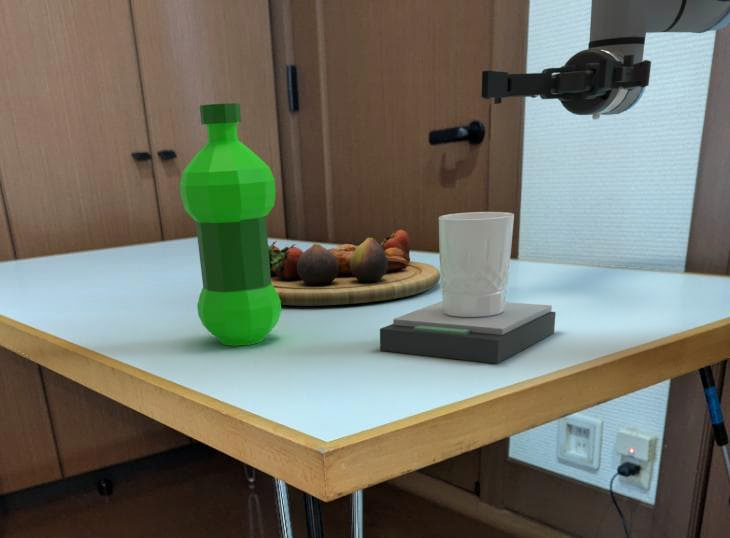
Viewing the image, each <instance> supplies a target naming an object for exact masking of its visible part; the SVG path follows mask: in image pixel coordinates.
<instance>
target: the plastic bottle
mask: <svg viewBox="0 0 730 538" xmlns="http://www.w3.org/2000/svg"><path fill="white" fill-rule="evenodd" d="M241 111H242V110H241V103H237V102H235V103H233V102H232V103H230V102H229V103H228V102H227V103H210V104H201V105H199V115H200V122H201V123H200V124H201V125H202V126H206V133H207V142H206V143H205V144H204V145H203V146H202V147H201V149H199V151H197V153H196V154H195V156H194V157H193V158H192V159H191V160H190V162H189V163H188V164H187V166H186V167H185V168H184V170H183V171H182V172H181V177H180V181H179V192H180V199H181V202H182V205H183V208H184V211H185V212H186V213H187V214H188V216H190V217H191V219H193V220H194V221H195V227H196V228H195V229H196V238H197V246H198V247H197V248H198V255H199V264H200V272H201V281H202V289H201V290H200V293H199V297H198V301H197V304H196V308H197V315H198V318H199V321H200V322H201V324H202V326H203V327H204V328H205V329H206V330H207V332H209V333H210V334H211V335H213V336H214V337H215V338H216V339H217V340H218V341H220V343H221V344H222V345H224V346H233V347H239V346H250V345H251V346H252V345H254V344H260V343H261V342H263V341H265V337H267V336H268V335H269V334H270V333H271V332H272V330H273V329H274V328H275V327H276V325H277V324H278V322H279V320H280V317H281V313H282V305H281V301H280V298H279V296H278V294H277V292H276V290H275V288H274V287H273V285H272V283H271V275H270V263H269V250H268V245H269V240H268V239H269V238H268V228H267V227H268V226H267V225H268V224H267V217H268V215H269V214H270V212H271V211H272V210H273V208H274V207H275V201H276V193H277V192H276V179H275V177H274V175H273V172H272V170H271V168H270V166H269V165H268V164H267V163H265V161H263V160H262V159H261V158H260V157H259V156H258V155H257V154H256V153H255V152H254V151H252V150H251V149H250V148H249V147H248V146H247V145H245V144H244V143H243V142H242V141H240V140H239V136H238V124H241V123H242V113H241Z"/></svg>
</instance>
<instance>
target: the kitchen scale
mask: <svg viewBox="0 0 730 538" xmlns="http://www.w3.org/2000/svg"><path fill="white" fill-rule="evenodd" d="M552 310H553V306H552V304H537V303H523V302H508V301H505V306H504V311H503V312H502V313H500V314H497V315H492V316H485V317H456V316H450V315H447V314H444V312H443V300H441V301H438V302H435V303H433V304H431V305H428V306H425V307H422V308H419V309H417V310H414V311H411V312H409V313H406V314H403V315H400V316H398V317H395V318H393V321H392V322H393V323H390V324H389V325H386V326H383V327H381V328H379V346H380V347H379V350H380V351H381V352H391V353H398V354H399V353H400V354H409V355H416V356H417V355H418V356H426V357H433V358H434V357H436V358H441V359H442V358H443V359H451V360H461V361H468V362H479V363H486V364H495V365H497V364H499V363H501V362H503V361H505V360H507V359H509V358H511V357H512V356H514V355H516V354H518V353H520V352H523V351H524V350H525V349H527V348H529V347H532V346H533V345H535V344H537V343H538V342H540V341H543V340H544V339H546V338H548V337H550V336H552V335H553V334H555V329H556V328H555V327H556V313H557V312H556V311H552Z"/></svg>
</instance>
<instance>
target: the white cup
mask: <svg viewBox="0 0 730 538" xmlns="http://www.w3.org/2000/svg"><path fill="white" fill-rule="evenodd" d="M514 221H515V214H514V213H513V212H504V211H474V212H473V211H472V212H459V213H449V214H444V215H440V216H438V245H439V249H438V252H439V265H440V268H439V269H440V270H439V273H440V288H441V290H442V291H441V293H442V294H441V297H442V298H441V299H442V300H441V301H443V312H444V314H447V315H450V316H456V317H485V316H492V315H497V314H500V313H502V312H503V311H504V306H505V302H506V293H507V289H506V288H507V285H508V282H509V271H510V265H511V254H512V242H513V232H514Z"/></svg>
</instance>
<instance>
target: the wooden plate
mask: <svg viewBox="0 0 730 538" xmlns="http://www.w3.org/2000/svg"><path fill="white" fill-rule="evenodd" d="M382 240H383V241H382V242H378V241H377V240H376V239H374V238H373V237H367V238H366V239H365V240H364V241H363V242H362V243H360V244H359V245H358V246H356V245H354V244H350V243H344V244H341V245H337V246H336V247H332V248H329V249H327V248H325V247H324V246H322V245H321V244H318V243H313V244H312V246H310V247H309V248H308V249H306V250H304V251H303V250H302V249H301V248H300V247H296V246H295V245H297V244H295V243H294V244H292V245H290V247H289V246H284V248H282V249H280V248H279V247H278V246H277V245H275V244H276V243H277V240H276V241H273V242H272V243H271V245H269V244H268V250H269V263H270V275H271V283H272V285H273V287H274V288H275V290H276V292H277V294H278V296H279V298H280V301H281V306H297V307H298V306H299V307H300V306H302V307H304V306H305V307H306V306H307V307H308V306H309V307H310V306H313V307H314V306H338V305H351V304H354V305H355V304H364V303H373V302H381V301H388V300H395V299H398V298H399V299H400V298H405V297H410V296H414V295H418V294H421V293H424V292H427V291H429V290H431V289H433V288H434V287H435V286H437V285H438V283H439V282H440V280H441V276H440V270H439V269H438V268H437V267H436V266H434V265H431V264H429V263H426V262H425V263H424V262H419V261H412V260H411V257H410V250H411V239H410V236H409V234H408V233H407V231H405V230H404V229H399V230H397V229H395V230H394V232H390V233H389V235H388V236H386V237H385V238H382Z"/></svg>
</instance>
